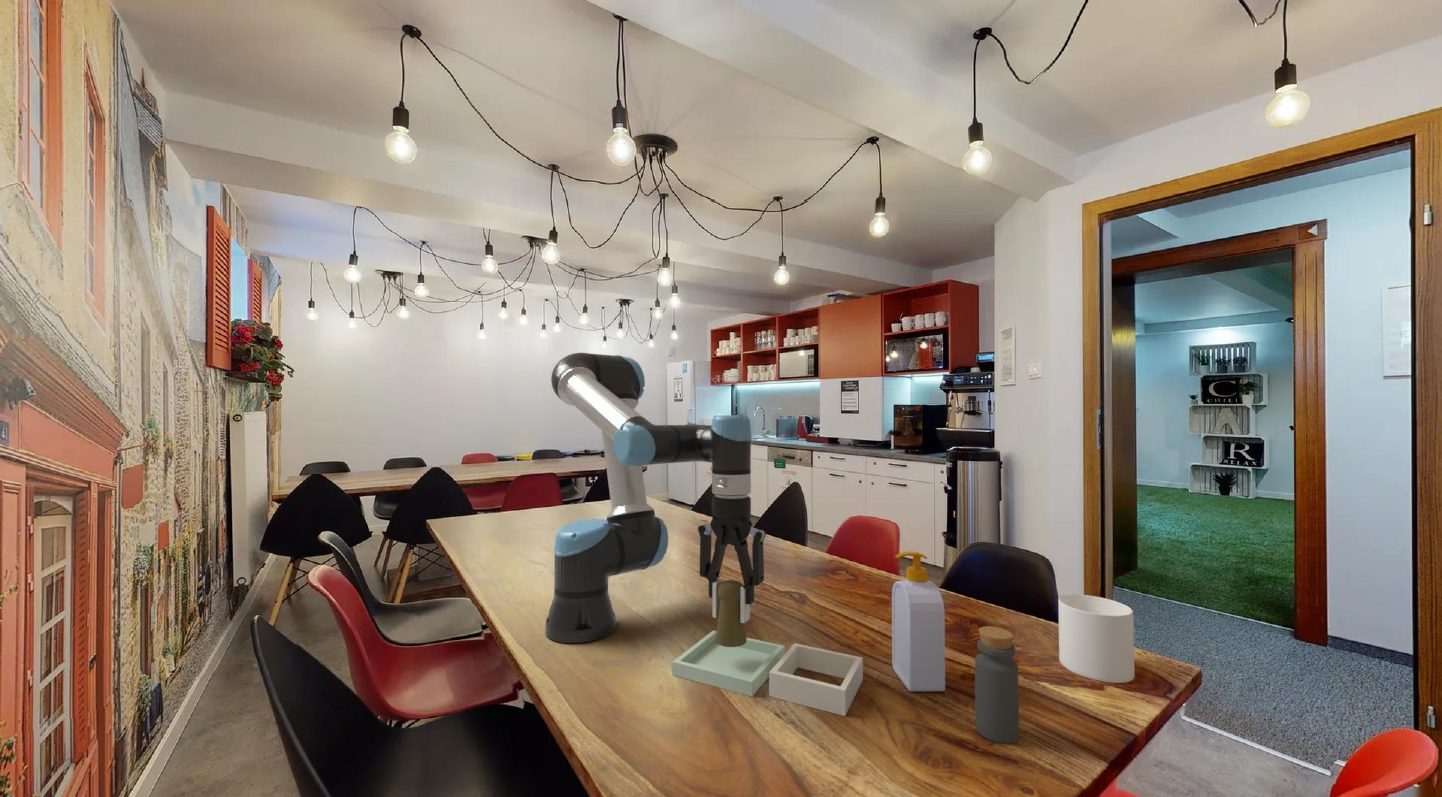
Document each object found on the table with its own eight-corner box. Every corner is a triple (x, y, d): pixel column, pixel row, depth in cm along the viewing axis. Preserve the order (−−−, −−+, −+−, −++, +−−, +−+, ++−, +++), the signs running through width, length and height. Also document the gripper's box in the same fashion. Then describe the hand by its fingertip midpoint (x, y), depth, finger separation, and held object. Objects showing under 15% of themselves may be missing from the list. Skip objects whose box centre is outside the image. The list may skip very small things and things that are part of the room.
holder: (769, 695, 90) (769, 672, 90) (794, 664, 102) (794, 642, 102) (845, 716, 84) (845, 690, 84) (862, 679, 96) (862, 657, 96)
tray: (672, 674, 97) (672, 661, 97) (713, 641, 111) (713, 630, 111) (752, 696, 90) (752, 682, 90) (784, 658, 104) (784, 645, 104)
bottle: (967, 721, 83) (967, 624, 83) (1003, 720, 83) (1002, 623, 84) (989, 744, 77) (988, 640, 77) (1027, 743, 77) (1026, 639, 78)
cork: (744, 648, 97) (744, 587, 97) (712, 645, 98) (712, 585, 99) (749, 635, 103) (749, 578, 103) (718, 632, 104) (718, 576, 105)
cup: (1067, 648, 109) (1066, 590, 110) (1139, 668, 101) (1137, 604, 101) (1052, 667, 101) (1051, 604, 101) (1128, 690, 93) (1127, 621, 93)
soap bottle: (887, 668, 100) (887, 546, 101) (924, 667, 100) (923, 546, 101) (905, 693, 91) (905, 559, 92) (945, 692, 91) (944, 559, 92)
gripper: (680, 494, 102) (680, 615, 102) (768, 501, 94) (768, 633, 93) (699, 489, 109) (699, 603, 108) (782, 496, 101) (783, 619, 100)
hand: (731, 617), depth 101 cm, fingers closed on cork, 5 cm apart
